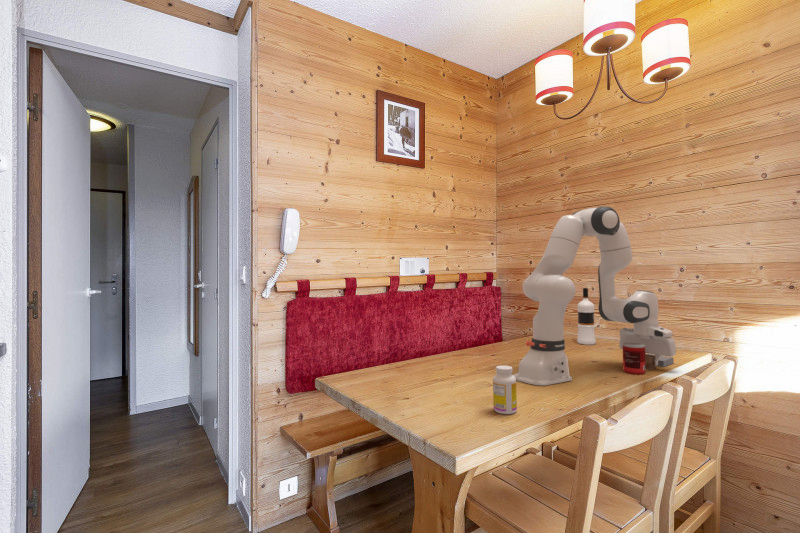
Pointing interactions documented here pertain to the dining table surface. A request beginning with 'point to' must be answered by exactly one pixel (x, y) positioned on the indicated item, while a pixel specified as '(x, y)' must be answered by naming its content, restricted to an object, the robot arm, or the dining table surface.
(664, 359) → the slate tile
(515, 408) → the supplement bottle
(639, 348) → the canned food
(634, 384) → the dining table surface
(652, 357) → the walnut block
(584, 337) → the vodka
